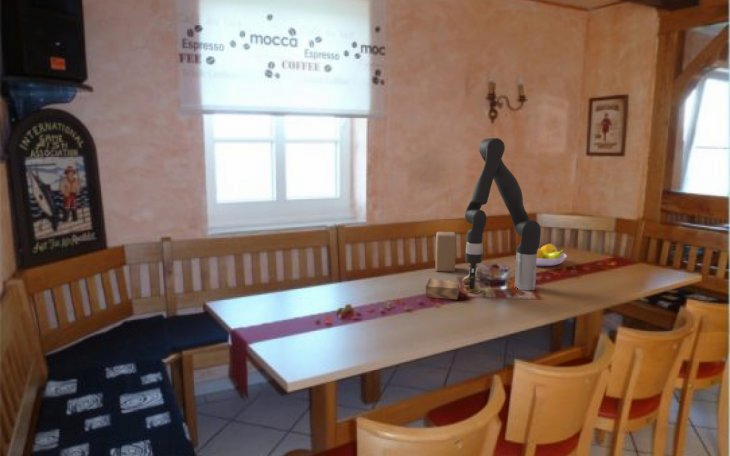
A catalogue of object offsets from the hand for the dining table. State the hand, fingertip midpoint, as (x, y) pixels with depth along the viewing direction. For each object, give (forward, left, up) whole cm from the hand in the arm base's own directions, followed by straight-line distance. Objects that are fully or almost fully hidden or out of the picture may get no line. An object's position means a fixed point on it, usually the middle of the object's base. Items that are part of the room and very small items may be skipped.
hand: (472, 286), depth 244 cm
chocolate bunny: (0, 0, -2) cm, 2 cm away
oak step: (+13, +8, -2) cm, 15 cm away
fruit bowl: (-36, -63, -3) cm, 73 cm away
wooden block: (+16, -36, -2) cm, 39 cm away
